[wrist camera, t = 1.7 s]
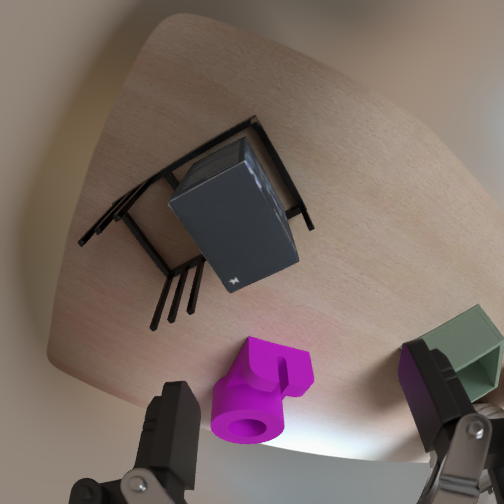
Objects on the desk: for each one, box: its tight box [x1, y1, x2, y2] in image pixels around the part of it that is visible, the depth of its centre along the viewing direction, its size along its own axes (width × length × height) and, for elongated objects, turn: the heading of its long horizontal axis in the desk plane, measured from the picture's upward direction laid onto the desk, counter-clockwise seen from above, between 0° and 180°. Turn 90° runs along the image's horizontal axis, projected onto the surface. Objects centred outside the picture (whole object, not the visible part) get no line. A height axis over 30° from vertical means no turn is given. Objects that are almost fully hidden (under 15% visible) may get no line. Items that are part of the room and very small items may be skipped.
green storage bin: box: [400, 304, 504, 403], centre depth 39 cm, size 14×14×8 cm
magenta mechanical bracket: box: [211, 336, 314, 444], centre depth 40 cm, size 16×10×6 cm, turn 158°
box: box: [168, 137, 299, 293], centre depth 25 cm, size 8×6×11 cm
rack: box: [78, 115, 315, 331], centre depth 26 cm, size 16×10×9 cm, turn 119°
